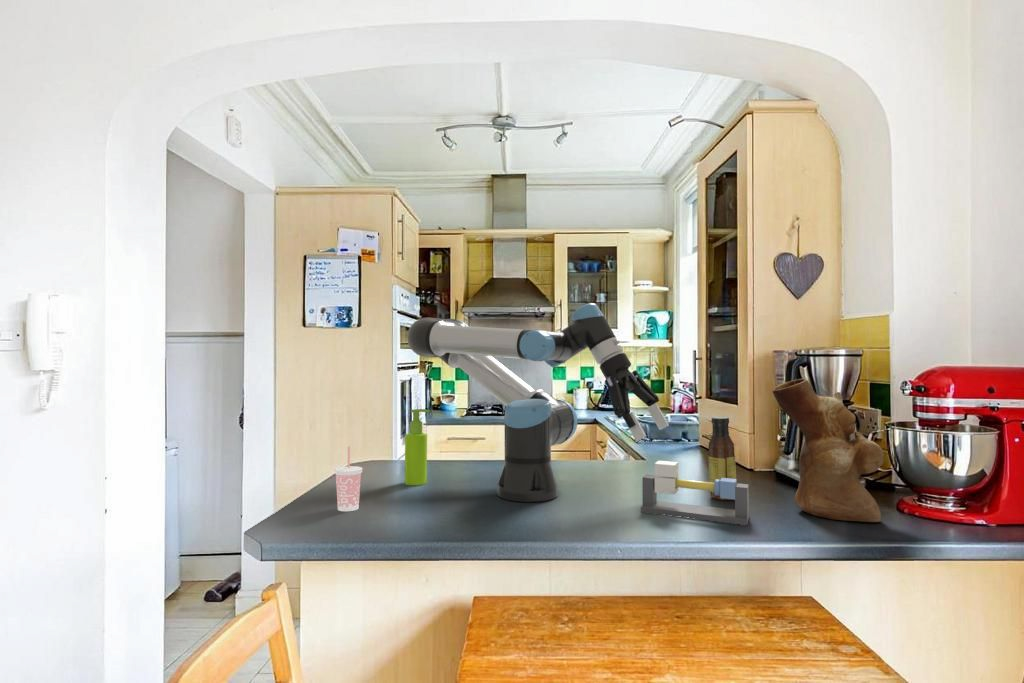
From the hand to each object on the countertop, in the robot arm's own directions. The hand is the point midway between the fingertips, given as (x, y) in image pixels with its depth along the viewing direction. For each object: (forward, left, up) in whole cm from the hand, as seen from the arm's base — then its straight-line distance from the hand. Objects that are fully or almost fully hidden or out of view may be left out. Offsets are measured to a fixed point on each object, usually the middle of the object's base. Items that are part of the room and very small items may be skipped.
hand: (653, 433), depth 140 cm
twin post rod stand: (+11, -11, -16) cm, 22 cm away
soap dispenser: (-61, -14, -16) cm, 64 cm away
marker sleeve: (+5, -11, -11) cm, 17 cm away
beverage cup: (-60, -42, -16) cm, 75 cm away
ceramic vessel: (+37, +3, -16) cm, 41 cm away
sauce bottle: (+15, +7, -16) cm, 23 cm away
